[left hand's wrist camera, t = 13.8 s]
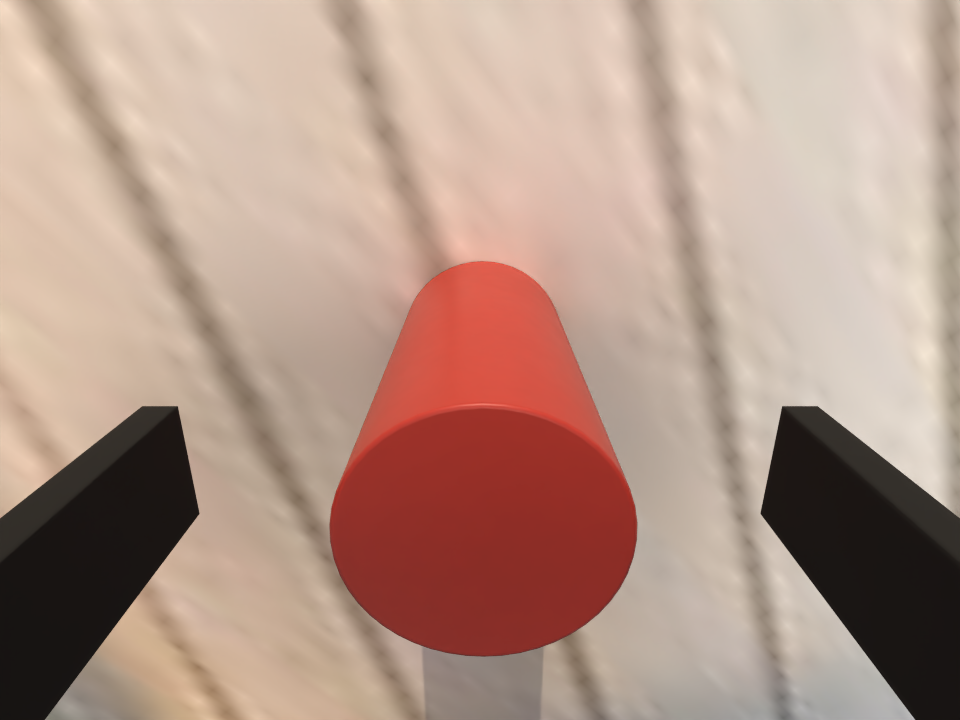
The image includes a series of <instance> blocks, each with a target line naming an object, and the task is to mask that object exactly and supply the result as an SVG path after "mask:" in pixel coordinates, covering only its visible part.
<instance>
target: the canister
mask: <svg viewBox="0 0 960 720" xmlns="http://www.w3.org/2000/svg"><path fill="white" fill-rule="evenodd" d="M636 541H637V517H636V509H635V504H634V501H633V498H632V494H631V491H630V488H629V486H628V483H627V481H626V479H625V476H624V474H623V471H622V469H621V466H620V464H619V462H618V459H617V457H616V454H615V452H614V450H613V447H612V445H611V442H610V440H609V438H608V435H607V433H606V430H605V428H604V425H603V423H602V421H601V418H600V416H599V413H598V411H597V409H596V406H595V404H594V401H593V399H592V397H591V394H590V392H589V389H588V387H587V384H586V382H585V380H584V377H583V375H582V372H581V370H580V368H579V365H578V363H577V360H576V358H575V356H574V353H573V351H572V348H571V346H570V343H569V341H568V339H567V336H566V334H565V331H564V329H563V327H562V324H561V322H560V319H559V317H558V314H557V312H556V310H555V308H554V305H553V303H552V301H551V299H550V298H549V296H548V295H547V293H546V292H545V291H544V290H543V288H542V287H541V286H540V285H539V284H538V283H537V282H536V281H534V280H533V279H532V278H531V277H529V276H528V275H526V274H525V273H523V272H522V271H520V270H517V269H515V268H513V267H510V266H507V265H504V264H500V263H495V262H471V263H466V264H461V265H458V266H455V267H452V268H450V269H448V270H446V271H444V272H442V273H440V274H439V275H438V276H436V277H435V278H433V279H432V280H431V281H430V282H429V283H428V284H426V285H425V287H424V288H423V289H422V290H421V291H420V293H419V294H418V295H417V297H416V299H415V300H414V302H413V304H412V306H411V309H410V311H409V313H408V316H407V318H406V321H405V323H404V326H403V328H402V330H401V333H400V335H399V338H398V340H397V343H396V345H395V348H394V350H393V353H392V355H391V358H390V360H389V362H388V365H387V367H386V370H385V372H384V375H383V377H382V380H381V382H380V385H379V387H378V389H377V392H376V394H375V397H374V399H373V402H372V404H371V407H370V409H369V412H368V414H367V417H366V419H365V421H364V424H363V426H362V429H361V431H360V434H359V436H358V439H357V441H356V444H355V446H354V449H353V451H352V453H351V456H350V458H349V461H348V463H347V466H346V468H345V471H344V473H343V476H342V478H341V481H340V483H339V485H338V488H337V490H336V493H335V497H334V501H333V504H332V508H331V516H330V542H331V547H332V552H333V557H334V560H335V563H336V566H337V568H338V571H339V574H340V576H341V578H342V580H343V581H344V583H345V585H346V587H347V589H348V590H349V592H350V593H351V594H352V596H353V597H354V598H355V600H356V601H357V602H358V603H359V604H360V606H361V607H362V608H363V609H364V610H365V611H366V612H367V613H368V614H369V615H370V616H372V617H373V618H374V619H375V620H377V621H378V622H379V623H380V624H382V625H383V626H384V627H386V628H387V629H389V630H391V631H392V632H394V633H395V634H397V635H399V636H401V637H403V638H405V639H407V640H409V641H411V642H413V643H416V644H419V645H422V646H424V647H427V648H430V649H434V650H438V651H442V652H446V653H451V654H458V655H465V656H503V655H509V654H516V653H522V652H525V651H529V650H533V649H537V648H540V647H543V646H545V645H548V644H551V643H554V642H556V641H558V640H560V639H562V638H564V637H566V636H568V635H570V634H572V633H573V632H575V631H576V630H578V629H579V628H581V627H583V626H584V625H586V624H587V623H588V622H589V621H590V620H592V619H593V618H594V617H595V616H597V615H598V614H599V613H600V612H601V611H602V610H603V609H604V608H605V606H606V605H607V604H608V603H609V602H610V601H611V600H612V598H613V597H614V596H615V594H616V593H617V591H618V590H619V589H620V587H621V585H622V583H623V581H624V579H625V578H626V576H627V574H628V571H629V568H630V565H631V563H632V560H633V557H634V552H635V546H636Z"/></svg>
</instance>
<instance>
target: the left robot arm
mask: <svg viewBox="0 0 960 720" xmlns="http://www.w3.org/2000/svg"><path fill="white" fill-rule="evenodd" d="M198 515H199V509H198V504H197V499H196V494H195V489H194V484H193V479H192V475H191V470H190V465H189V460H188V455H187V450H186V445H185V440H184V435H183V430H182V425H181V420H180V415H179V410H178V406H142V407H141V408H140V409H138V410H137V411H136V412H135V413H133V414H132V415H131V416H130V417H128V418H127V419H126V420H124V421H123V422H122V423H121V424H119V425H118V426H117V427H116V428H114V429H113V430H112V431H110V432H109V433H108V434H107V435H105V436H104V437H103V438H102V439H100V440H99V441H98V442H97V443H95V444H94V445H93V446H91V447H90V448H89V449H88V450H86V451H85V452H84V453H83V454H81V455H80V456H79V457H78V458H76V459H75V460H74V461H72V462H71V463H70V464H69V465H67V466H66V467H65V468H64V469H62V470H61V471H60V472H59V473H57V474H56V475H55V476H53V477H52V478H51V479H50V480H48V481H47V482H46V483H45V484H43V485H42V486H41V487H40V488H38V489H37V490H36V491H34V492H33V493H32V494H31V495H29V496H28V497H27V498H26V499H24V500H23V501H22V502H20V503H19V504H18V505H17V506H15V507H14V508H13V509H12V510H10V511H9V512H8V513H7V514H5V515H4V516H3V517H1V518H0V720H45V719H46V717H47V716H48V715H49V713H50V712H51V711H52V709H53V708H54V707H55V705H56V704H57V703H58V701H59V700H60V699H61V697H62V696H63V695H64V693H65V692H66V691H67V689H68V688H69V687H70V685H71V684H72V683H73V681H74V680H75V679H76V677H77V676H78V675H79V673H80V672H81V671H82V669H83V668H84V667H85V665H86V664H87V663H88V661H89V660H90V659H91V657H92V656H93V655H94V653H95V652H96V651H97V649H98V648H99V647H100V645H101V644H102V643H103V641H104V640H105V639H106V637H107V636H108V635H109V633H110V632H111V631H112V629H113V628H114V627H115V625H116V624H117V623H118V621H119V620H120V619H121V617H122V616H123V615H124V613H125V612H126V611H127V609H128V608H129V607H130V605H131V604H132V603H133V601H134V600H135V599H136V598H137V596H138V595H139V594H140V592H141V591H142V590H143V588H144V587H145V586H146V584H147V583H148V582H149V580H150V579H151V578H152V576H153V575H154V574H155V572H156V571H157V570H158V568H159V567H160V566H161V564H162V563H163V562H164V560H165V559H166V558H167V556H168V555H169V554H170V552H171V551H172V550H173V548H174V547H175V546H176V544H177V543H178V542H179V540H180V539H181V538H182V536H183V535H184V534H185V532H186V531H187V530H188V528H189V527H190V526H191V524H192V523H193V522H194V520H195V519H196V518H197V516H198ZM761 515H762V516H763V518H764V519H765V520H766V522H767V523H768V524H769V526H770V527H771V528H772V530H773V531H774V532H775V534H776V535H777V536H778V538H779V539H780V540H781V542H782V543H783V544H784V546H785V547H786V548H787V550H788V551H789V552H790V554H791V555H792V556H793V558H794V559H795V560H796V562H797V563H798V564H799V566H800V567H801V568H802V570H803V571H804V572H805V574H806V575H807V576H808V578H809V579H810V580H811V582H812V583H813V584H814V586H815V587H816V588H817V590H818V591H819V592H820V594H821V595H822V596H823V598H824V599H825V600H826V602H827V603H828V604H829V605H830V607H831V608H832V609H833V611H834V612H835V613H836V615H837V616H838V617H839V619H840V620H841V621H842V623H843V624H844V625H845V627H846V628H847V629H848V631H849V632H850V633H851V635H852V636H853V637H854V639H855V640H856V641H857V643H858V644H859V645H860V647H861V648H862V649H863V651H864V652H865V653H866V655H867V656H868V657H869V659H870V660H871V661H872V663H873V664H874V665H875V667H876V668H877V669H878V671H879V672H880V673H881V675H882V676H883V677H884V679H885V680H886V681H887V683H888V684H889V685H890V687H891V688H892V689H893V691H894V692H895V693H896V695H897V696H898V697H899V699H900V700H901V701H902V703H903V704H904V705H905V707H906V708H907V709H908V711H909V712H910V713H911V715H912V716H913V717H914V719H915V720H960V518H959V517H957V516H956V515H955V514H953V513H952V512H951V511H950V510H948V509H947V508H946V507H945V506H943V505H942V504H941V503H940V502H938V501H937V500H936V499H934V498H933V497H932V496H931V495H929V494H928V493H927V492H926V491H924V490H923V489H922V488H920V487H919V486H918V485H917V484H915V483H914V482H913V481H912V480H910V479H909V478H908V477H907V476H905V475H904V474H903V473H901V472H900V471H899V470H898V469H896V468H895V467H894V466H893V465H891V464H890V463H889V462H888V461H886V460H885V459H884V458H882V457H881V456H880V455H879V454H877V453H876V452H875V451H874V450H872V449H871V448H870V447H869V446H867V445H866V444H865V443H863V442H862V441H861V440H860V439H858V438H857V437H856V436H855V435H853V434H852V433H851V432H850V431H848V430H847V429H846V428H844V427H843V426H842V425H841V424H839V423H838V422H837V421H836V420H834V419H833V418H832V417H830V416H829V415H828V414H827V413H825V412H824V411H823V410H822V409H820V408H819V407H818V406H782V410H781V415H780V420H779V425H778V430H777V435H776V440H775V445H774V450H773V455H772V460H771V465H770V470H769V474H768V479H767V484H766V489H765V494H764V499H763V504H762V509H761Z"/></svg>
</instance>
